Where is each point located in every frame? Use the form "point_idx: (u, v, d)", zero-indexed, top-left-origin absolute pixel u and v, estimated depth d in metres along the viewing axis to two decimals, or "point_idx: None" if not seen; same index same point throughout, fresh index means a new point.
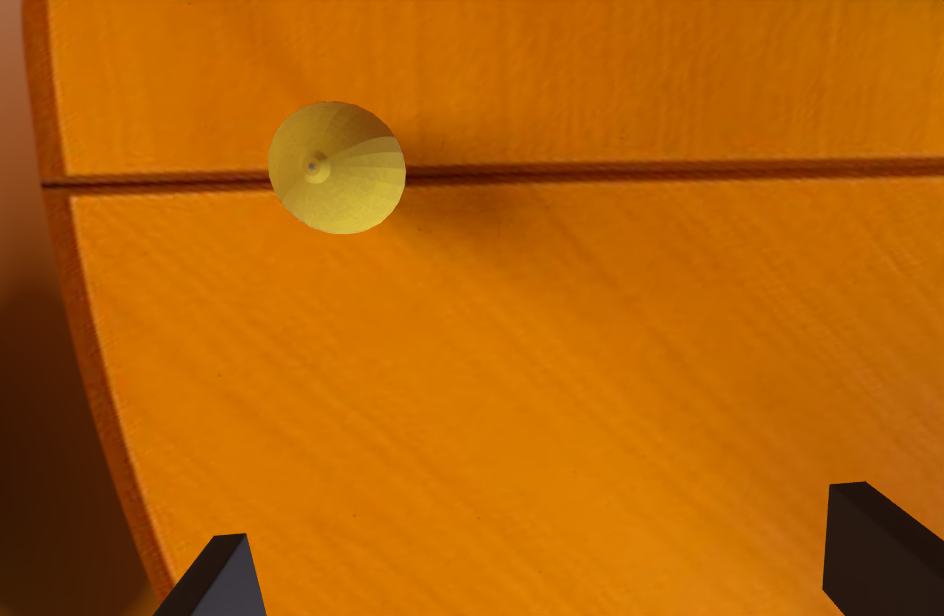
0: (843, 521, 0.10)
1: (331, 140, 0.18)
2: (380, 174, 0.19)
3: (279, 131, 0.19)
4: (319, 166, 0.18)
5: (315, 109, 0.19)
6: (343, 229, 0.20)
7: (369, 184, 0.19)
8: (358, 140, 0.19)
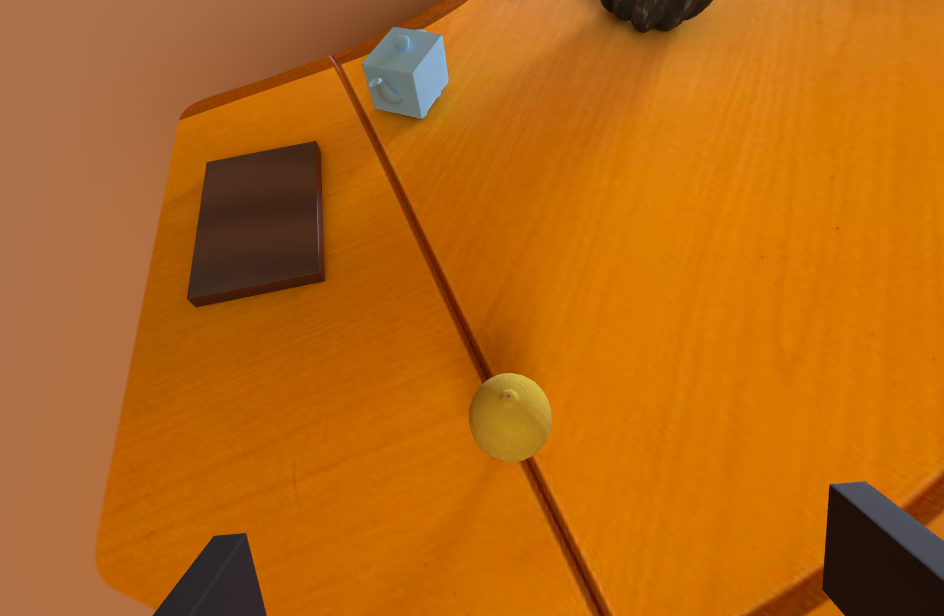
0: (843, 521, 0.10)
1: (491, 396, 0.30)
2: (499, 375, 0.32)
3: (499, 436, 0.30)
4: (507, 392, 0.30)
5: (479, 420, 0.31)
6: (541, 389, 0.32)
7: (506, 375, 0.32)
8: (485, 388, 0.31)
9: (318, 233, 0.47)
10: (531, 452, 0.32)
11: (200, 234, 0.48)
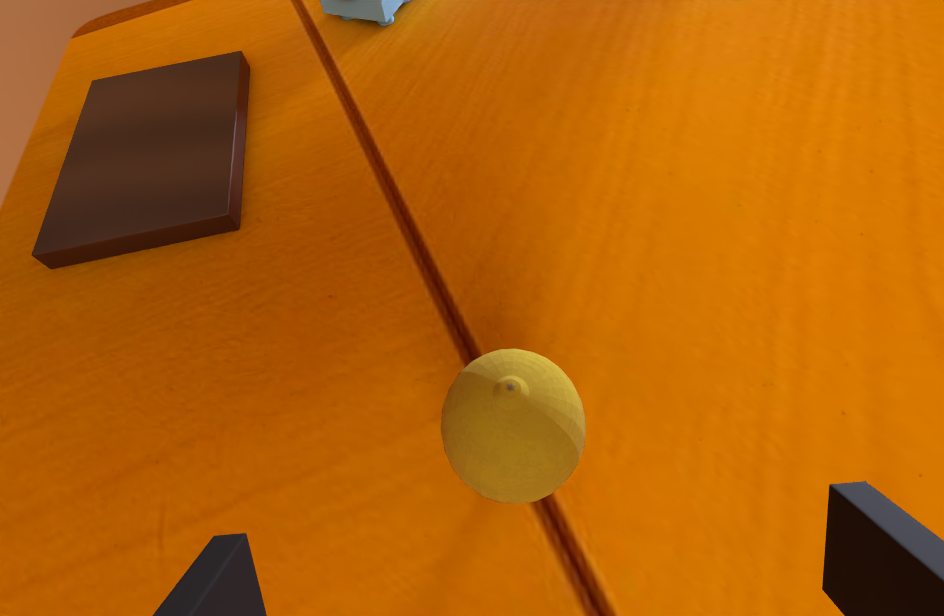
0: (843, 521, 0.10)
1: (477, 389, 0.17)
2: (492, 352, 0.18)
3: (494, 463, 0.16)
4: (507, 381, 0.16)
5: (456, 433, 0.17)
6: None
7: (505, 351, 0.18)
8: (468, 374, 0.17)
9: (232, 163, 0.33)
10: (552, 489, 0.18)
11: (66, 169, 0.34)
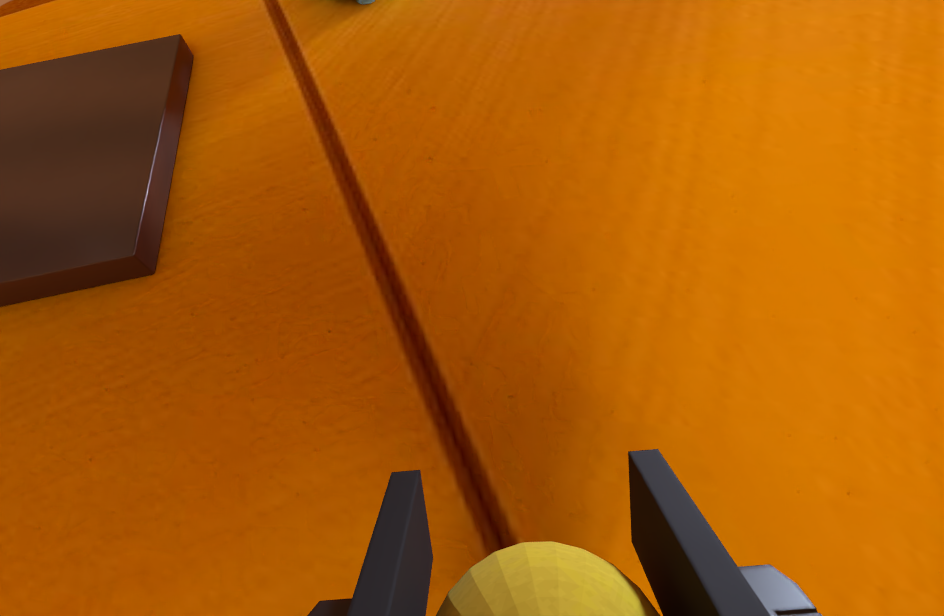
0: (634, 481, 0.12)
1: None
2: (514, 566, 0.10)
3: None
4: None
5: None
6: (655, 613, 0.10)
7: (541, 576, 0.09)
8: None
9: (150, 182, 0.24)
10: None
11: None
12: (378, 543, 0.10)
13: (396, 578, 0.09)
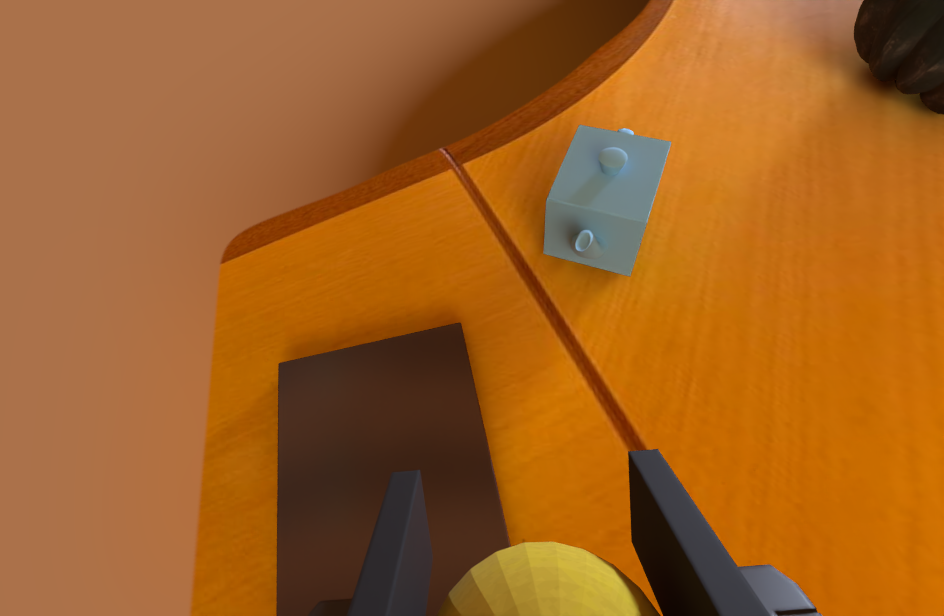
0: (634, 481, 0.12)
1: None
2: (515, 566, 0.10)
3: None
4: None
5: None
6: (656, 613, 0.10)
7: (542, 576, 0.09)
8: None
9: (509, 543, 0.25)
10: None
11: (285, 536, 0.26)
12: (378, 543, 0.10)
13: (397, 577, 0.09)
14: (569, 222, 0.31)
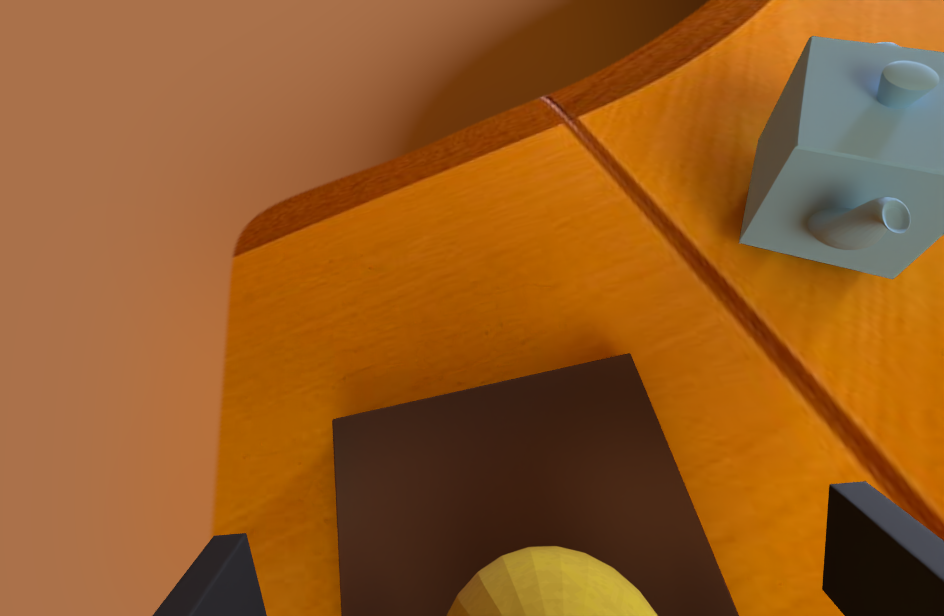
0: (843, 521, 0.10)
1: None
2: (521, 570, 0.10)
3: None
4: None
5: None
6: (654, 614, 0.10)
7: (546, 579, 0.10)
8: None
9: None
10: None
11: None
12: None
13: None
14: (821, 188, 0.19)
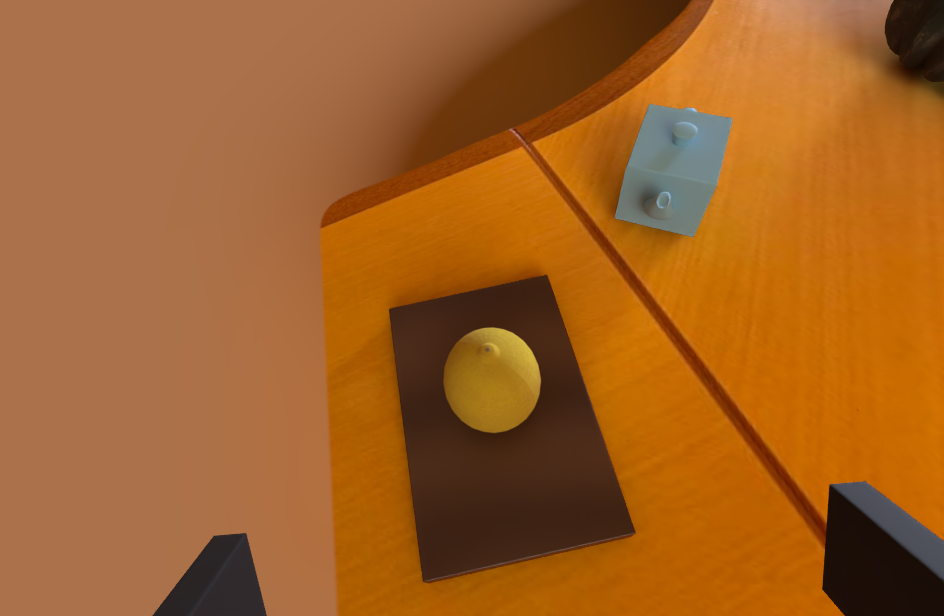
0: (843, 521, 0.10)
1: (467, 352, 0.26)
2: (478, 329, 0.27)
3: (477, 398, 0.25)
4: (485, 345, 0.25)
5: (453, 380, 0.26)
6: None
7: (486, 329, 0.27)
8: (461, 343, 0.26)
9: (606, 450, 0.30)
10: (516, 419, 0.27)
11: (413, 446, 0.31)
12: None
13: None
14: (644, 187, 0.36)
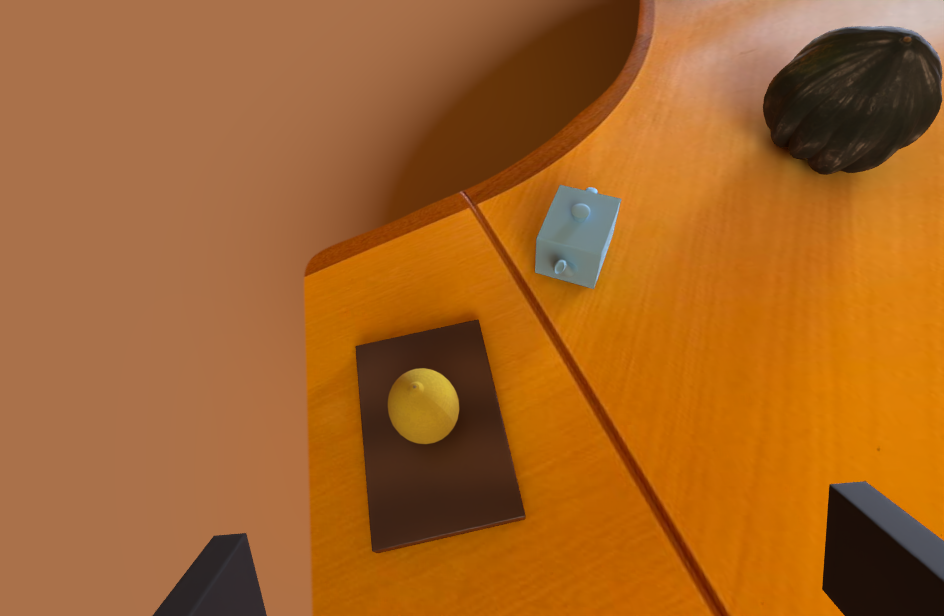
0: (843, 521, 0.10)
1: (401, 388, 0.36)
2: (412, 370, 0.38)
3: (408, 420, 0.36)
4: (413, 384, 0.36)
5: (392, 408, 0.36)
6: (447, 381, 0.38)
7: (417, 370, 0.38)
8: (398, 380, 0.37)
9: (510, 456, 0.40)
10: (438, 435, 0.37)
11: (369, 453, 0.41)
12: None
13: None
14: (552, 253, 0.46)
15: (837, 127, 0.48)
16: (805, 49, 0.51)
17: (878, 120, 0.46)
